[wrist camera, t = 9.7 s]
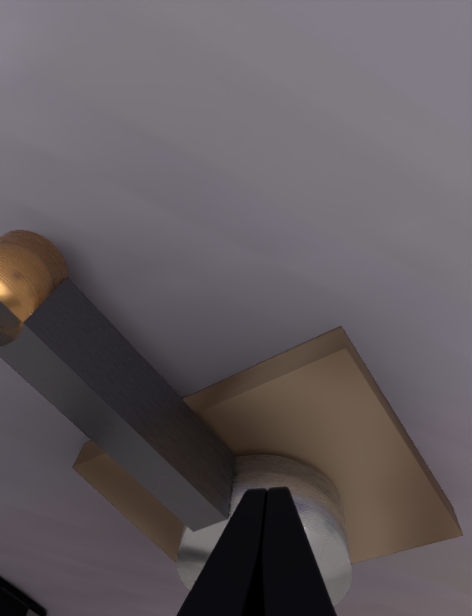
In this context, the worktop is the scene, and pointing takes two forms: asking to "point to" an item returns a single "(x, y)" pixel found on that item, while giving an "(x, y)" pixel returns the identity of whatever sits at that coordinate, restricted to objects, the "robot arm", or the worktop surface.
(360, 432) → the block
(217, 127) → the worktop surface
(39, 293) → the amber-knobbed lever
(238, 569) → the robot arm
